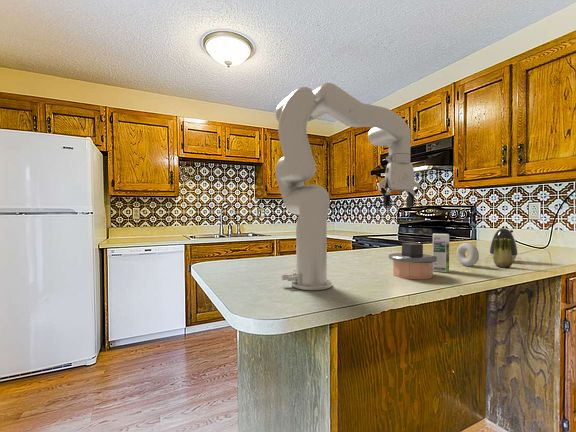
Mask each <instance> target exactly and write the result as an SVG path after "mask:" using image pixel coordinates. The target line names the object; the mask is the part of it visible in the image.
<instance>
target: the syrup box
mask: <svg viewBox="0 0 576 432" xmlns="http://www.w3.org/2000/svg"><path fill="white" fill-rule="evenodd" d="M432 256H435V257H437V261H436V262H433V272H438V273H439V272H440V273H448V274H449V273H450V234H449V233H432Z"/></svg>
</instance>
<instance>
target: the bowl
mask: <svg viewBox="0 0 576 432" xmlns="http://www.w3.org/2000/svg"><path fill="white" fill-rule="evenodd" d="M392 273H393V276H394V277H397V278H401V279H408V280H418V281H419V280H421V281H422V280H429V279H432V278H433V275H434V271H433V262H431V263H412V262H402V261H395V260H392Z"/></svg>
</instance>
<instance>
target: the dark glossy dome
mask: <svg viewBox="0 0 576 432" xmlns="http://www.w3.org/2000/svg"><path fill="white" fill-rule="evenodd" d="M513 232H514V229H511V230H509V229H508V228H499V229H497V231H495V233H494V235H493V237H492V240H491V243H490V246H489V247H490V248H489V253H490V255H491V258H492V259H493V260H494V257H493V255H494V239H497V240H498V248H499V239H503V244H504V238H506V239H507V240H508V239H510V240H512V242H511V252H512V258H513V261H515V260H516V258H517V255H518V247H517V243H516V240H515V237H514V235H513Z"/></svg>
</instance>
